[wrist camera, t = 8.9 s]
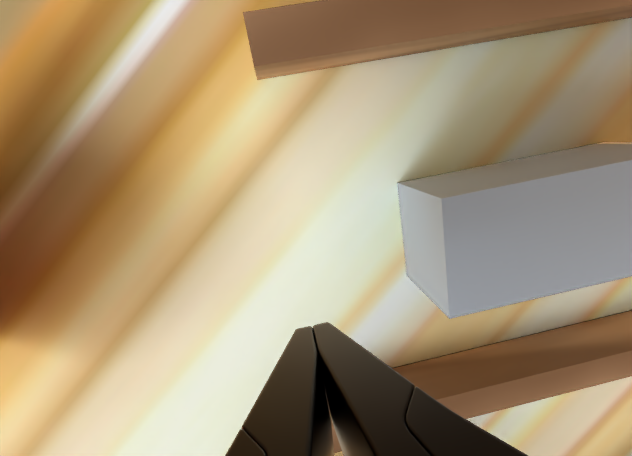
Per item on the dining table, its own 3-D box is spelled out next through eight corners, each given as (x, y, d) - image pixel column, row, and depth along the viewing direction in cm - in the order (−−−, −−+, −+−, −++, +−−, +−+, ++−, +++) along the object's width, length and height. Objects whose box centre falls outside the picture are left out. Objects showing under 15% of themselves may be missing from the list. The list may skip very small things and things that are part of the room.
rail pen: (724, 310, 19) (789, 335, 17) (325, 409, 17) (333, 453, 15) (795, -49, 14) (903, -87, 12) (248, 36, 12) (242, 12, 10)
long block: (406, 275, 16) (597, 233, 17) (449, 318, 12) (694, 261, 13) (396, 182, 15) (603, 142, 15) (441, 198, 11) (713, 143, 12)
